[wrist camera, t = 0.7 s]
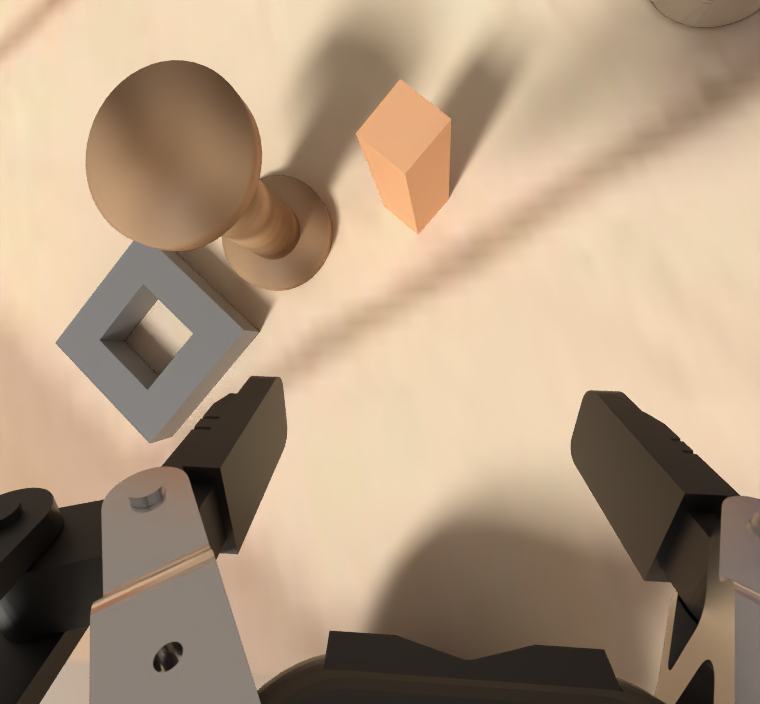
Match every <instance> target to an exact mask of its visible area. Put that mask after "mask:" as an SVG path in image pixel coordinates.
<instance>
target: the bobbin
mask: <svg viewBox="0 0 760 704" xmlns="http://www.w3.org/2000/svg"><path fill="white" fill-rule="evenodd" d="M261 165H262V147H261V139H260V135H259V131H258V127H257V124H256V122H255V119H254V117H253V115H252V113H251V112H250V110H249V108H248V107H247V105H246V104H245V103H244V101H243V100H242V99H241V97H240V96H239V95H238V94H237V92H236V91H235V90H234V89H233V87H232V86H231V85H230V84H229V83H228V82H227V81H226V80H225V79H224V78H223V77H222V76H220V75H219V74H218V73H216V72H215V71H213V70H211V69H209V68H208V67H206V66H203V65H200V64H197V63H194V62H189V61H180V60H171V61H163V62H159V63H155V64H151V65H149V66H147V67H144V68H142V69H140V70H138V71H136V72H135V73H133V74H131V75H130V76H129V77H127V78H126V79H125V80H123V81H122V82H121V83H120V84H119V85H118V86H117V87H116V88H115V89H114V90H113V91H112V92H111V93H110V95H109V96H108V97H107V98H106V100H105V101H104V103H103V104H102V106H101V107H100V109H99V111H98V113H97V115H96V117H95V119H94V122H93V125H92V127H91V130H90V134H89V138H88V142H87V149H86V174H87V180H88V185H89V189H90V192H91V195H92V198H93V200H94V202H95V204H96V206H97V208H98V210H99V211H100V213H101V214H102V216H103V217H104V218H105V219H106V220H107V222H108V223H109V224H110V225H111V226H112V227H113V228H115V229H116V230H117V231H118V232H119V233H121V234H123V235H124V236H126V237H127V238H130V239H132V240H134V241H136V242H139V243H142V244H144V245H147V246H150V247H152V248H156V249H160V250H165V251H186V250H192V249H196V248H199V247H202V246H205V245H207V244H209V243H211V242H213V241H215V240H216V239H218V238H219V237H221V236H222V243H223V248H224V252H225V255H226V258H227V260H228V262H229V264H230V265H231V267H232V268H233V270H234V271H235V272H236V273H237V274H238V275H239V276H240V277H241V278H243V279H244V280H245V281H247V282H249V283H250V284H253V285H255V286H258V287H260V288H264V289H267V290H274V291H282V290H289V289H292V288H295V287H297V286H300V285H302V284H303V283H305V282H307V281H308V280H309V279H311V278H312V277H313V276H314V275H315V274H316V273H317V272H318V271H319V269H320V268H321V267H322V265H323V264H324V262H325V260H326V258H327V256H328V253H329V250H330V247H331V241H332V225H331V220H330V216H329V213H328V211H327V209H326V207H325V205H324V203H323V202H322V201H321V199H320V198H319V197H318V195H317V194H316V193H315V192H314V191H313V190H312V189H311V188H310V187H309V186H308V185H306V184H305V183H303V182H301V181H300V180H297V179H295V178H292V177H287V176H269V177H264V178H261V179H259V177H260V172H261Z"/></svg>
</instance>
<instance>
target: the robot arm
mask: <svg viewBox="0 0 760 704" xmlns="http://www.w3.org/2000/svg"><path fill="white" fill-rule="evenodd" d="M651 2H652V3H653V4H654V6H655V7H656V8H657V9H658V10H659V11H660V12H662V13H663V14H664V15H665V16H667V17H669V18H670V19H672V20H674V21H676V22H678V23H682V24H686V25H689V26H695V27H714V26H722V25H727V24H730V23H733V22H736V21H739V20H741V19H743V18H745V17H747V16H749V15H751V14H753V13H755V12H756V11H758V10H759V9H760V0H651ZM286 438H287V420H286V410H285V400H284V391H283V383H282V380H281V378H280V377H264V376H251V377H250V378H249V379H248V380H247V382H246V383H245V384H244V386H243V387H242V388H241V389H240V391H239V392H238V393H237V394H234V393H230V394H228V395H227V396H225V397H223V398H222V399H220V400H219V401H217V402H215V403H214V404H213V405H212V406H211V407H210V409H209V410H208V411H207V412H206V413H205V415H204V416H203V419H200V421H199V422H198V423H197V424H196V425H195V428H194V430H193V429H192V430H191V431H190V433H189V434H188V435H187V436H186V437H185V439H184V440H183V441H182V442H181V444H180V445H179V446H178V447H177V448H176V450H175V451H174V452H173V453H172V454H171V456H170V457H169V458H168V459H167V460H166V462H165V463H164V464H163V465H162V466H161V467H156V468H151V469H147V470H144V471H141V472H138V473H136V474H134V475H132V476H130V477H128V478H126V479H125V480H123V481H122V482H120V483H119V484H117V485H116V486H115V487H114V488H113V489H112V490H111V491H110V492H109V493H108V494H107V496H106V497H105V499H104V500H100V501H94V502H89V503H83V504H78V505H72V506H67V507H62V508H58V506H57V504H56V502H55V499H54V497H53V495H52V494H51V493H50V492H49V491H47V490H45V489H42V488H26V489H19V490H15V491H11V492H8V493H5V494H2V495H0V704H39V703H40V702H41V700H42V699H43V697H44V695H45V694H46V692H47V691H48V689H49V688H50V686H51V684H52V683H53V681H54V680H55V678H56V677H57V675H58V674H59V672H60V670H61V669H62V667H63V666H64V664H65V663H66V661H67V660H68V658H69V656H70V655H71V653H72V652H73V650H74V649H75V647H76V646H77V644H78V642H79V641H80V639H81V638H82V636H83V635H84V633H85V631H86V630H87V628H88V627H89V625H90V699H89V701H90V702H89V703H90V704H760V499H757V498H752V497H747V496H740V495H739V494H738V493H737V492H736V491H735V490H734V489H733V488H732V487H731V486H730V485H729V484H728V483H726V482H725V481H724V480H723V479H722V478H721V477H720V476H719V475H718V474H717V473H716V472H715V471H714V470H713V469H712V468H711V467H710V466H709V465H707V464H706V463H705V462H704V461H703V460H702V459H701V458H700V457H699V456H698V455H697V454H693V450H692V449H691V448H690V447H688V446H687V445H686V444H685V443H684V442H681V441H680V438H679V437H678V436H677V435H676V434H675V433H674V432H673V431H672V430H671V429H670V428H668V427H667V426H666V425H665V424H664V423H662V422H660V421H659V420H657V419H655V418H654V417H652V416H650V415H648V414H647V413H645V412H642V411H641V410H640V409H639V408H638V407H637V406H636V405H635V404H634V403H633V402H632V401H631V400H630V399H629V398H628V397H627V396H626V395H625V394H624V393H622V392H618V391H593V390H590V391H587V392H586V393H585V395H584V397H583V399H582V403H581V406H580V410H579V414H578V417H577V421H576V424H575V428H574V432H573V435H572V439H571V455H572V459H573V461H574V464H575V465H576V467H577V469H578V470H579V472H580V474H581V475H582V477H583V479H584V481H585V482H586V484H587V486H588V487H589V489H590V491H591V492H592V494H593V496H594V497H595V499H596V501H597V502H598V504H599V506H600V507H601V509H602V511H603V512H604V514H605V516H606V517H607V519H608V521H609V522H610V524H611V526H612V528H613V529H614V531H615V533H616V534H617V536H618V538H619V539H620V541H621V543H622V544H623V546H624V548H625V549H626V551H627V553H628V554H629V556H630V558H631V559H632V561H633V563H634V564H635V566H636V568H637V569H638V571H639V573H640V574H641V576H642V578H643V580H644V581H658V582H671V583H672V585H673V586H674V588H675V589H676V591H675V593H674V595H673V597H672V599H671V602H670V607H669V614H668V620H667V627H666V633H665V640H664V646H663V653H662V659H661V666H660V672H659V678H658V683H657V687H656V691H655V694H654V696H653V695H651V694H650V693H648V692H646V691H644V690H643V689H641V688H639V687H637V686H635V685H632V684H630V683H628V682H626V681H624V680H622V679H619V678H616V677H615V674H614V672H613V670H612V667H611V665H610V663H609V660H608V658H607V656H606V653H605V651H604V650H602V649H588V648H573V647H559V646H544V645H533V646H528V647H524V648H520V649H516V650H512V651H508V652H504V653H500V654H496V655H492V656H488V657H484V658H480V659H476V660H463V659H460V658H457V657H454V656H451V655H449V654H446V653H443V652H440V651H437V650H435V649H432V648H429V647H426V646H424V645H421V644H418V643H415V642H413V641H410V640H407V639H404V638H402V637H399V636H396V635H384V634H370V633H355V632H341V631H330V632H329V638H328V645H327V651H326V654H324V655H320V656H316V657H313V658H310V659H308V660H305V661H303V662H300V663H298V664H296V665H294V666H292V667H290V668H288V669H286V670H285V671H283V672H281V673H280V674H278V675H277V676H275V677H274V678H273V679H271V680H270V681H268V682H267V683H265V684H264V685H263V686H262V687H261V688H260V689H259V690H256V687H255V683H254V680H253V677H252V674H251V671H250V667H249V664H248V661H247V658H246V655H245V651H244V648H243V645H242V642H241V639H240V635H239V632H238V629H237V626H236V623H235V620H234V616H233V613H232V610H231V607H230V604H229V600H228V597H227V594H226V591H225V588H224V584H223V581H222V578H221V575H220V572H219V568H218V565H217V562H216V559H217V557H218V555H219V553H227V554H238V553H239V551H240V548H241V546H242V544H243V541H244V539H245V537H246V535H247V532H248V530H249V528H250V525H251V523H252V521H253V518H254V516H255V514H256V512H257V509H258V507H259V505H260V502H261V500H262V498H263V496H264V493H265V491H266V489H267V486H268V484H269V482H270V479H271V477H272V475H273V473H274V470H275V468H276V466H277V463H278V461H279V459H280V457H281V454H282V452H283V450H284V447H285V443H286Z"/></svg>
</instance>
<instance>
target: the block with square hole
mask: <svg viewBox="0 0 760 704" xmlns="http://www.w3.org/2000/svg"><path fill="white" fill-rule="evenodd" d="M157 299H159V300H160V301H161V302H162V303H163V304H164V305H165V306H166V307H167V308H168V309H169V310H170V311H171V312H172V313H173V314H174V315H175V316H176V317H177V318H178V319H179V320H180V321H181V322H182V323H183V324H184V325H185V326H186V327H187V328H188V329H189V330H190V331H191V332H192V333H193V335H192V336H191V337H190V338H189V340H188V341H187V342H186V343H185V345H184V346H183V347H182V348H181V349H180V351H179V352H178V353H177V354H176V356H175V357H174V358H173V359H172V361H171V362H170V363H169V364H168V365H167V367H166V368H165V369H164V370H163V372H162V373H161V374H160V375H159V376H158V375H157V374H156V373H155V372H154V371H153V370H152V369H151V368H150V367H149V366H148V365H147V364H146V363H145V362H144V361H143V360H142V358H141V357H140V356H139V355H138V354H137V353H136V352H135V351H134V350H133V349H132V348H131V347H130V346H129V345H128V344H127V343H126V342H125V340H126V339H127V337H128V336H129V335H130V334H131V332H132V331H133V330H134V329H135V327H136V326H137V325H138V323H139V322H140V321H141V320H142V318H143V317H144V316H145V315H146V313H147V312H148V311H149V310H150V308H151V307H152V306H153V305H154V303H155V302H156V301H157ZM258 333H259V331H258V330H257V329H256V328H255V327H254V326H253V325H252V324H250V323H249V322H248V321H247V320H246V319H245V318H244V317H243V316H242V315H241V314H240V313H239V312H238V311H237V310H236V309H235V308H234V307H233V306H232V305H231V304H230V303H228V302H227V301H226V300H225V299H224V298H223V297H222V296H221V295H220V294H219V293H218V292H217V291H216V290H215V289H214V288H213V287H212V286H211V285H210V284H209V283H208V282H206V281H205V280H204V279H203V278H202V277H201V276H200V275H199V274H198V273H197V272H196V271H195V270H194V269H193V268H192V267H191V266H190V265H189V264H188V263H187V262H186V261H184V260H183V259H182V258H181V257H180V256H179V255H178V254H177V253H176V252H175V251H165V250H160V249H156V248H152V247H150V246H147V245H144V244H142V243H139V242H136V241H133V242H132V244H131V245H130V246H129V247H128V249H127V250H126V251H125V253H124V254H123V255H122V257H121V258H120V259H119V261H118V262H117V263H116V264H115V266H114V267H113V268H112V270H111V271H110V272H109V274H108V275H107V276H106V277H105V279H104V280H103V281H102V283H101V284H100V285H99V287H98V288H97V289H96V291H95V292H94V293H93V294H92V296H91V297H90V298H89V300H88V301H87V302H86V304H85V305H84V306H83V307H82V309H81V310H80V311H79V313H78V314H77V315H76V317H75V318H74V319H73V321H72V322H71V323H70V324H69V326H68V327H67V328H66V330H65V331H64V332H63V334H62V335H61V336H60V337H59V339H58V340H57V341H56V344H57V345H58V346H59V347H60V349H61V350H62V351H63V352H64V353H65V354H66V355H67V356H68V357H69V358H70V359H71V360H72V361H73V362H74V363H75V364H76V366H77V367H78V368H79V369H80V370H81V371H82V372H83V373H84V374H85V375H86V376H87V377H88V378H89V379H90V380H91V382H92V383H93V384H94V385H95V386H96V387H97V388H98V389H99V390H100V391H101V392H102V393H103V394H104V395H105V396H106V397H107V399H108V400H109V401H110V402H111V403H112V404H113V405H114V406H115V407H116V408H117V409H118V410H119V411H120V412H121V413H122V414H123V416H124V417H125V418H126V419H127V420H128V421H129V422H130V423H131V424H132V425H133V426H134V427H135V428H136V429H137V430H138V432H139V433H140V434H141V435H142V436H143V437H144V438H145V439H146V440H147V441H148V442H149V443H153V442H156V441H160V440H163V439H166V438H170V437H172V436H173V435H174V434H175V432H176V431H177V430H178V429H179V428H180V426H181V425H182V424H183V423H184V422H185V420H186V419H187V418H188V417H189V416H190V414H191V413H192V412H193V411H194V410H195V409H196V407H197V406H198V405H199V404H200V403H201V401H202V400H203V399H204V398H205V397H206V395H207V394H208V393H209V392H210V391H211V389H212V388H213V387H214V386H215V385H216V383H217V382H218V381H219V380H220V379H221V377H222V376H223V375H224V374H225V373H226V371H227V370H228V369H229V368H230V367H231V366H232V364H233V363H234V362H235V361H236V360H237V358H238V357H239V356H240V355H241V354H242V352H243V351H244V350H245V349H246V348H247V346H248V345H249V344H250V343H251V342H252V340H253V339H254V338H255V337H256V336H257V334H258Z"/></svg>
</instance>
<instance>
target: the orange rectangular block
mask: <svg viewBox="0 0 760 704" xmlns="http://www.w3.org/2000/svg"><path fill="white" fill-rule="evenodd" d="M356 135H357V138H358V140H359V143H360V145H361V148H362V150H363V153H364V155H365V158H366V161H367V163H368V166H369V168H370V171H371V173H372V176H373V178H374V181H375V183H376V186H377V188H378V191H379V193H380V196H381V198H382V201H383V204H384V206H385V207H386V208H387V209H388V210H389V211H391V212H392V213H393V214H394V215H395V216H397V217H398V218H399V219H400V220H401V221H402V222H404V223H405V224H406V225H407V226H408V227H410V228H411V229H412V230H413V231H414V232H416V233H417V234H419V233H420V232H421V230H422V229H423V228H424V227H425V226H426V225H427V224H428V222H429V221H430V220H431V219H432V218H433V217H434V215H435V214H436V213H437V212H438V211H439V210H440V208H441V207H442V206H443V205H444V204H445V203H446V202H447V200H448V199H449V175H450V145H451V118H449V117H448V116H447V115H446V114H444V113H443V112H442V111H441V110H439V109H438V108H437V107H435V106H434V105H433V104H432V103H430V102H429V101H428V100H426V99H425V98H424V97H423V96H421V95H420V94H419V93H417V92H416V91H415V90H414V89H412V88H411V87H410V86H408V85H407V84H406V83H405V82H403V81H402V80H401V79H400V80H399V81H398V82H397V83H396V85H395V86H394V87H393V88H392V90H391V91H390V92H389V93H388V94H387V96H386V97H385V98H384V99H383V101H382V102H381V103H380V104H379V106H378V107H377V108H376V109H375V110H374V112H373V113H372V114H371V115H370V117H369V118H368V119H367V120H366V121H365V123H364V124H363V125H362V126H361V128H360V129H359V130H358V131H357V133H356Z"/></svg>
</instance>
